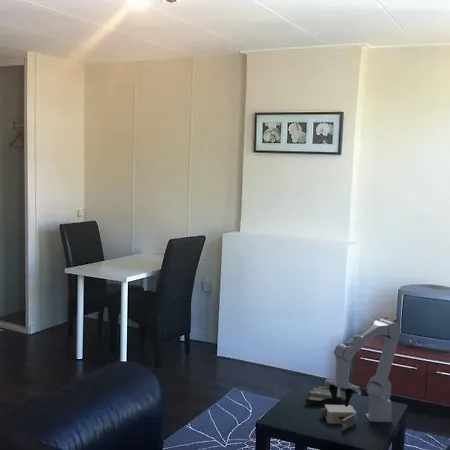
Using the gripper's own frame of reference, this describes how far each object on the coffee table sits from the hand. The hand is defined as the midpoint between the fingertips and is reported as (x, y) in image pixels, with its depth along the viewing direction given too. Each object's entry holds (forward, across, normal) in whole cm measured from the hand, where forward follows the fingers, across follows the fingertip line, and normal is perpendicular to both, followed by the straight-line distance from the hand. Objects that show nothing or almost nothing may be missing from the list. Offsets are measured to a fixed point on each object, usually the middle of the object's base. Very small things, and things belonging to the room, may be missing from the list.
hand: (340, 404), depth 254 cm
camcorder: (+10, -16, +25) cm, 31 cm away
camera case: (+10, -3, +8) cm, 13 cm away
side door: (+10, +4, +2) cm, 10 cm away
